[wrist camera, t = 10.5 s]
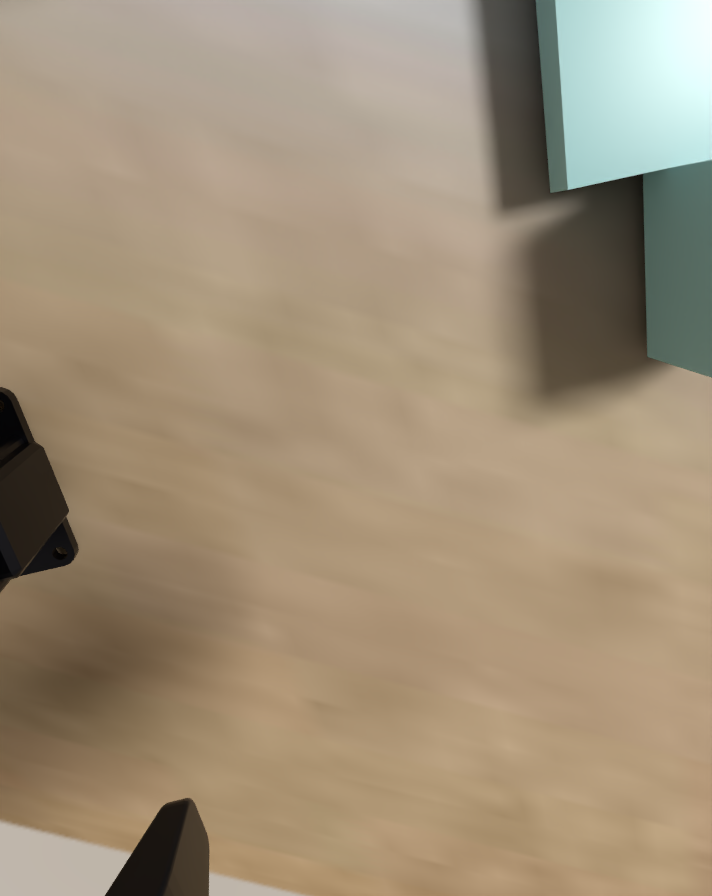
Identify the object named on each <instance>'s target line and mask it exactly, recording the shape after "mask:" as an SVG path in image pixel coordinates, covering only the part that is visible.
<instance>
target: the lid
mask: <svg viewBox="0 0 712 896" xmlns="http://www.w3.org/2000/svg"><path fill="white" fill-rule="evenodd" d="M536 10H537V23H538V37H539V50H540V63H541V76H542V89H543V102H544V115H545V128H546V141H547V154H548V168H549V181H550V193H553V192H559V191H564V190H570V189H574V188H579V187H584V186H588V185H593V184H597V183H602V182H607V181H611V180H616V179H620V178H625V177H630V176H634V175H639V174H643V198H644V239H645V280H646V321H647V357H649V358H652V359H656V360H659V361H662V362H665V363H668V364H671V365H674V366H677V367H681V368H684V369H687V370H690V371H693V372H696V373H699V374H702V375H705V376H709V377H712V0H536Z"/></svg>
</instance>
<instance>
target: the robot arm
mask: <svg viewBox="0 0 712 896" xmlns="http://www.w3.org/2000/svg"><path fill="white" fill-rule="evenodd" d="M0 400H2V401H3V403H4V406H5V408H4V410H0V592H1V591H2V590H3V589H4V587H5V586H6V585H7V584H8V583H9V581H10V580H11V579H13V578H17V577H19V576H22V575H27V574H31V573H35V572H40V571H44V570H48V569H53V568H57V567H61V566H65V565H68V564H70V563H71V562H72V561H73V560H74V558H75V557H76V555H77V553H78V550H79V549H78V544H77V542H76V539H75V537H74V535H73V532H72V530H71V527H70V525H69V523H68V520H67V518H66V516H67V514H68V512H69V509H68V506H67V504H66V501H65V499H64V496H63V494H62V492H61V489H60V487H59V484H58V482H57V479H56V477H55V475H54V472H53V470H52V467H51V465H50V462H49V460H48V458H47V455H46V453H45V450H44V448H43V447H42V446H41V445H39V444H38V443H36V442H35V441H34V438H33V436H32V434H31V431H30V429H29V426H28V424H27V421H26V419H25V417H24V414H23V412H22V409H21V407H20V405H19V402H18V400H17V398H16V396H15V395H14V393H12V392H11V391H10V390H8V389H5V388H2V387H0ZM56 547H62V548H64V549H65V550H66V551H67V554H61V553H59V552H58V551H57V549H56ZM105 896H209V841H208V836H207V832H206V830H205V827H204V825H203V822H202V820H201V818H200V815H199V813H198V810H197V808H196V805H195V803H194V801H193V800H192V799H190V798H185V799H181V800H177V801H173V802H169V803H166V804H165V805H164V806H163V807H162V808H161V809H160V810H159V812H158V814H157V815H156V817H155V818H154V820H153V821H152V823H151V825H150V826H149V828H148V829H147V831H146V832H145V834H144V835H143V837H142V839H141V840H140V842H139V843H138V845H137V846H136V848H135V849H134V851H133V853H132V854H131V856H130V857H129V859H128V860H127V862H126V864H125V865H124V867H123V868H122V870H121V871H120V873H119V874H118V876H117V878H116V879H115V881H114V882H113V884H112V886H111V887H110V889H109V890H108V892H107V893H106V895H105Z"/></svg>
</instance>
